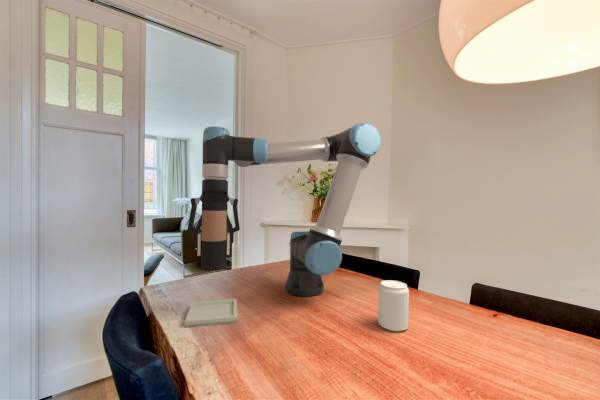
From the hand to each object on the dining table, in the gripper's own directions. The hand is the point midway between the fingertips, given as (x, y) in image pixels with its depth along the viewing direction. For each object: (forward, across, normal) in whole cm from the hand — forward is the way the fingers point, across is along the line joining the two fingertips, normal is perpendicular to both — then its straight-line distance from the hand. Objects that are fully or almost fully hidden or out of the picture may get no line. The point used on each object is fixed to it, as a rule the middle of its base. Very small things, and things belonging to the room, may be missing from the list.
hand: (214, 254), depth 83 cm
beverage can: (+18, -50, +18) cm, 56 cm away
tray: (+18, 0, 0) cm, 18 cm away
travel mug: (+4, 0, 0) cm, 4 cm away
